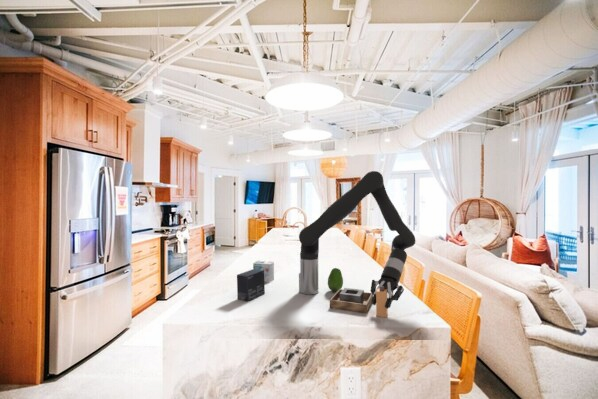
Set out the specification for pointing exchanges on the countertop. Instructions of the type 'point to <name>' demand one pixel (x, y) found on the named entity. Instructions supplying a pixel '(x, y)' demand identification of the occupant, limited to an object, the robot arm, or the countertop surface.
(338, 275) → the avocado
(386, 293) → the plug
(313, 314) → the countertop surface
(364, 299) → the walled tray
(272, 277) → the light bulb box
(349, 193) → the robot arm
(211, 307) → the countertop surface
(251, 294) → the small box
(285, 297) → the countertop surface
